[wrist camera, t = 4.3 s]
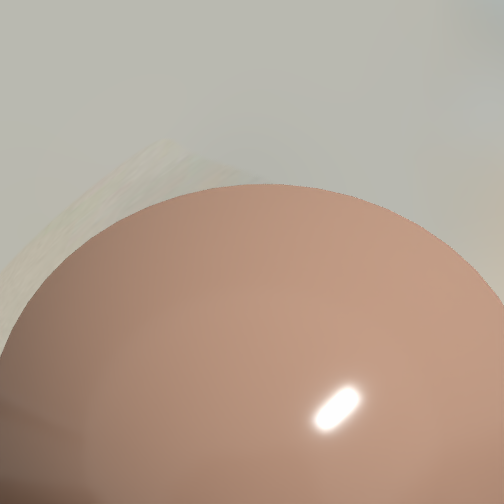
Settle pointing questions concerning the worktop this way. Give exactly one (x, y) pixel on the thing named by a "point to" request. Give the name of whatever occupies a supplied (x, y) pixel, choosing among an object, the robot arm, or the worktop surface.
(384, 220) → the dome-capped peach post
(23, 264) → the worktop surface
